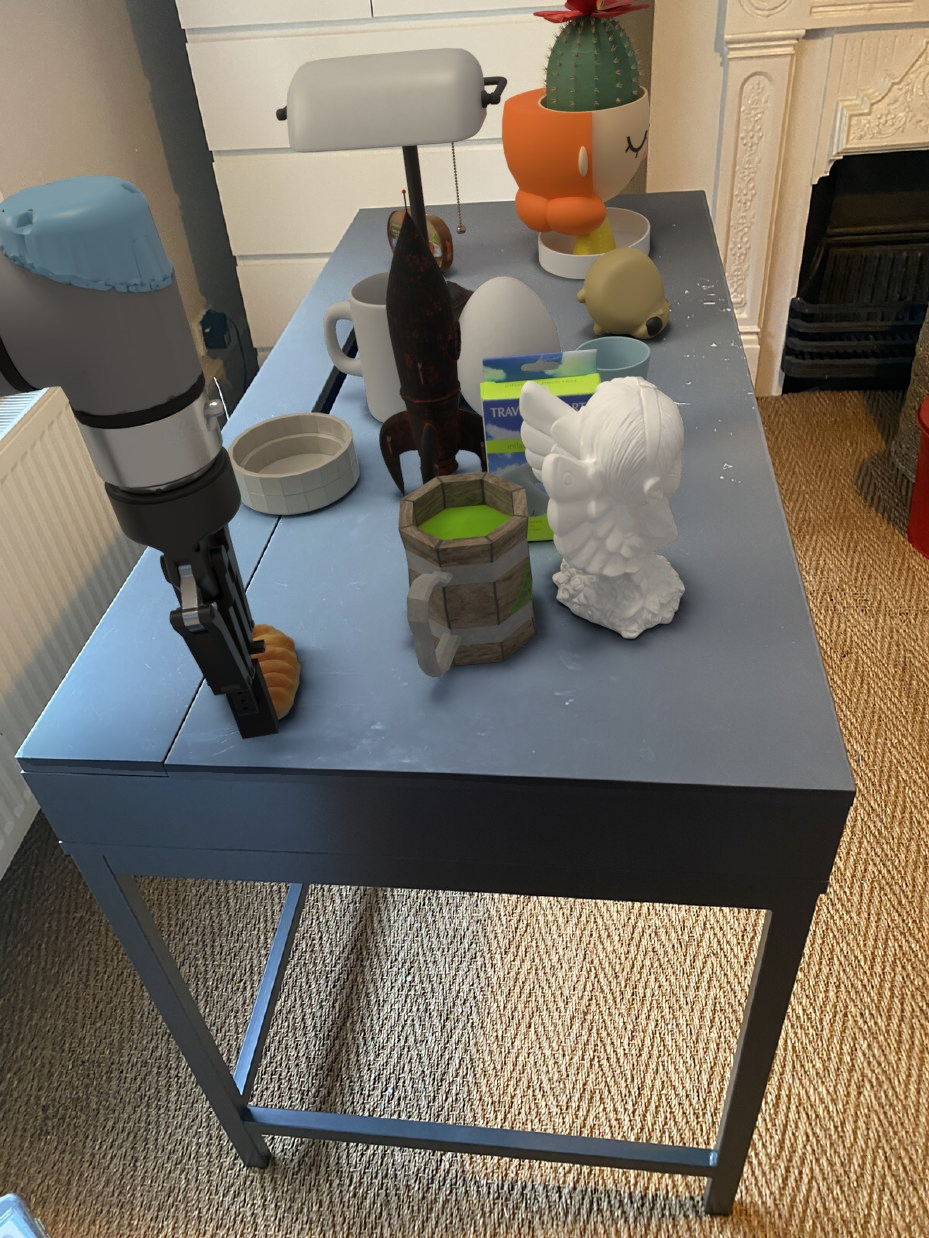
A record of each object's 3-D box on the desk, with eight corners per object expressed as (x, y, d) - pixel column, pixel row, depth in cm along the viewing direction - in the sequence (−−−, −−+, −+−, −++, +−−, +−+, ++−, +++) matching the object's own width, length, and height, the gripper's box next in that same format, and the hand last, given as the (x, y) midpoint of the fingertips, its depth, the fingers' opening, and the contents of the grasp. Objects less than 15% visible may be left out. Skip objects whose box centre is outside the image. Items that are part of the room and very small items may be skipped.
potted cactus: (654, 226, 150) (662, -36, 127) (642, 280, 134) (649, -10, 111) (523, 230, 155) (508, -22, 133) (496, 282, 139) (474, 5, 116)
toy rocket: (434, 530, 91) (388, 215, 72) (385, 495, 97) (331, 194, 78) (504, 495, 95) (478, 185, 76) (453, 463, 101) (417, 167, 81)
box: (493, 546, 89) (476, 378, 77) (493, 521, 92) (477, 357, 80) (605, 539, 88) (604, 368, 76) (601, 514, 91) (600, 347, 80)
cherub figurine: (703, 642, 76) (723, 423, 63) (551, 662, 76) (540, 447, 63) (663, 548, 86) (672, 342, 73) (529, 566, 86) (514, 363, 73)
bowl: (236, 527, 95) (223, 486, 92) (242, 462, 106) (230, 423, 102) (363, 506, 96) (355, 464, 93) (357, 444, 106) (349, 404, 103)
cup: (592, 468, 97) (591, 375, 90) (564, 435, 103) (562, 346, 96) (659, 451, 98) (663, 358, 92) (628, 419, 104) (629, 330, 98)
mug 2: (443, 576, 86) (426, 464, 78) (555, 595, 82) (550, 479, 74) (369, 693, 75) (341, 577, 67) (494, 721, 71) (481, 601, 64)
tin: (389, 260, 151) (381, 206, 145) (405, 254, 152) (397, 200, 147) (443, 282, 141) (436, 225, 136) (459, 276, 142) (454, 219, 137)
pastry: (315, 717, 74) (304, 683, 71) (231, 742, 72) (217, 709, 70) (295, 644, 81) (284, 610, 78) (218, 666, 79) (205, 633, 77)
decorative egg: (570, 382, 112) (567, 257, 103) (551, 433, 103) (545, 302, 94) (473, 379, 115) (461, 257, 106) (446, 428, 107) (430, 301, 97)
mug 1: (472, 384, 114) (460, 268, 105) (443, 430, 106) (428, 308, 97) (355, 378, 119) (334, 266, 110) (320, 421, 111) (293, 304, 102)
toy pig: (617, 372, 121) (680, 325, 113) (555, 303, 118) (616, 249, 110) (636, 338, 127) (697, 290, 120) (578, 271, 124) (637, 218, 116)
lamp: (312, 369, 122) (247, 78, 100) (356, 295, 140) (310, 35, 118) (511, 364, 118) (489, 57, 96) (531, 289, 136) (516, 16, 114)
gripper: (219, 511, 51) (310, 786, 66) (232, 402, 61) (308, 663, 76) (82, 533, 51) (204, 804, 66) (117, 420, 60) (217, 679, 76)
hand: (260, 729), depth 71 cm, fingers closed
